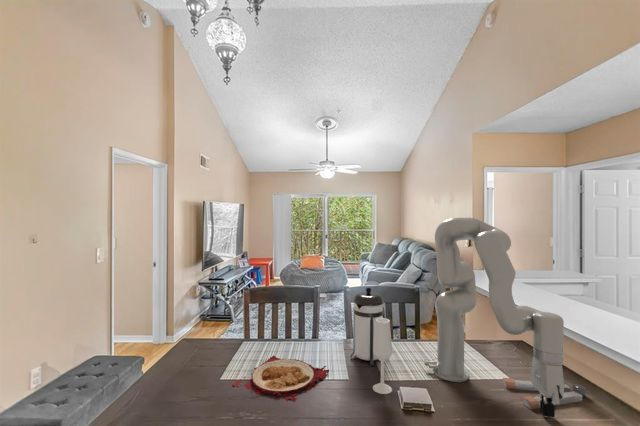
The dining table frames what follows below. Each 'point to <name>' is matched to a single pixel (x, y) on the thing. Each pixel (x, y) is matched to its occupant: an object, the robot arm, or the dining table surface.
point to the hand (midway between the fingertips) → (547, 414)
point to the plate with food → (284, 377)
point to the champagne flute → (382, 350)
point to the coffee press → (366, 324)
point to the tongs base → (528, 385)
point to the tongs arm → (567, 398)
